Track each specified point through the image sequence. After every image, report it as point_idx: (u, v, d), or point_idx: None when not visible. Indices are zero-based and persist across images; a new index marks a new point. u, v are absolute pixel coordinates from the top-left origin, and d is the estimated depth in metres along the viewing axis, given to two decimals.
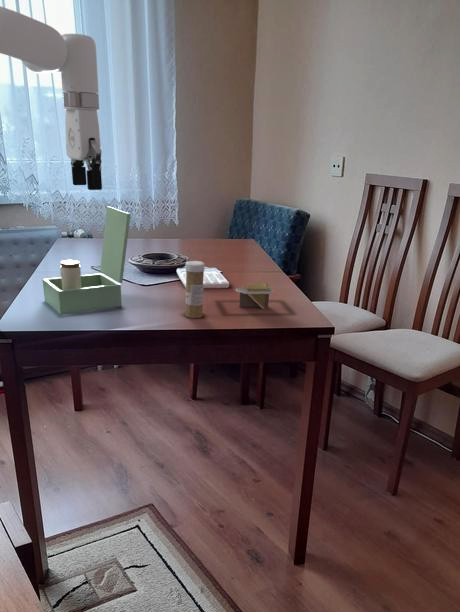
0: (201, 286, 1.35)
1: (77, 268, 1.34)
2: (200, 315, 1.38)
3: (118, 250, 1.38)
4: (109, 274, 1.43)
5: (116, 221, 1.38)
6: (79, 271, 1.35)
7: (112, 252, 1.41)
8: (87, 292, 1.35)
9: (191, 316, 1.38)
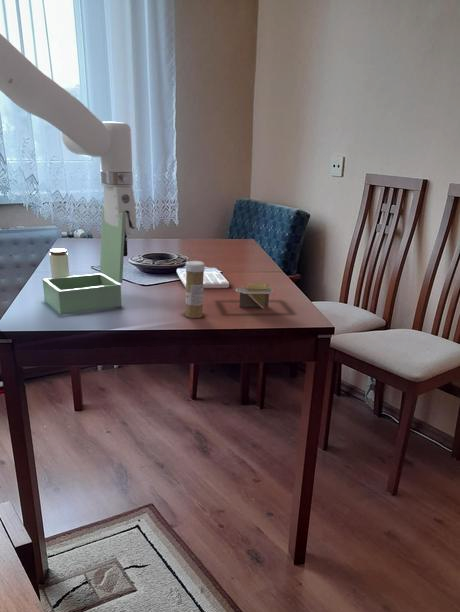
0: (201, 286, 1.35)
1: (65, 255, 1.50)
2: (200, 315, 1.38)
3: (116, 250, 1.37)
4: (109, 274, 1.43)
5: None
6: (67, 258, 1.51)
7: (110, 252, 1.41)
8: (87, 292, 1.35)
9: (191, 316, 1.38)
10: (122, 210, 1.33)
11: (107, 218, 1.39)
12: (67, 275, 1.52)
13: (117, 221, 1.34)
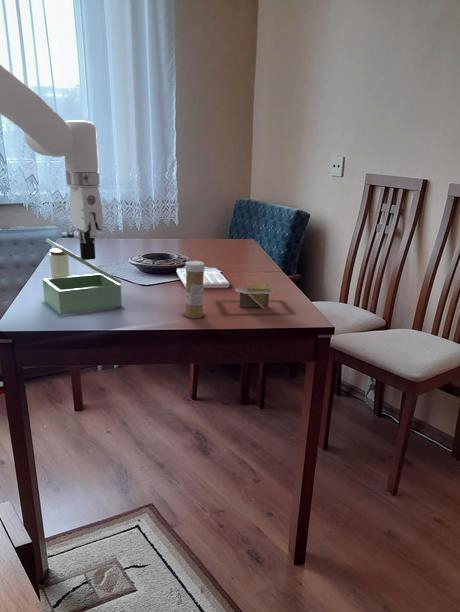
0: (201, 286, 1.35)
1: (65, 255, 1.50)
2: (200, 315, 1.38)
3: None
4: None
5: None
6: (67, 258, 1.51)
7: None
8: (87, 292, 1.35)
9: (191, 316, 1.38)
10: (88, 212, 1.29)
11: (74, 220, 1.34)
12: (67, 275, 1.52)
13: (83, 223, 1.30)
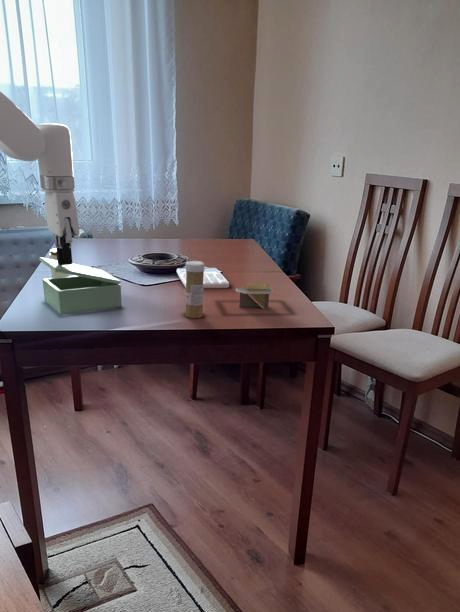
0: (201, 286, 1.35)
1: None
2: (200, 315, 1.38)
3: None
4: None
5: None
6: None
7: None
8: (87, 292, 1.35)
9: (191, 316, 1.38)
10: (62, 217, 1.26)
11: (49, 225, 1.32)
12: (67, 275, 1.52)
13: (58, 228, 1.27)
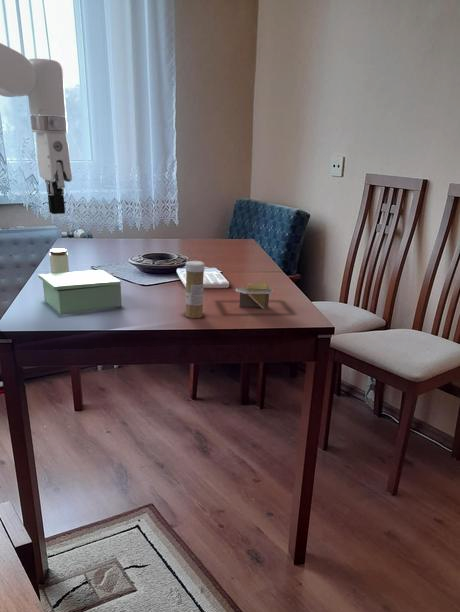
0: (201, 286, 1.35)
1: (65, 255, 1.50)
2: (200, 315, 1.38)
3: None
4: None
5: None
6: (67, 258, 1.51)
7: None
8: (87, 292, 1.35)
9: (191, 316, 1.38)
10: (54, 159, 1.20)
11: (41, 170, 1.26)
12: None
13: (49, 172, 1.22)
